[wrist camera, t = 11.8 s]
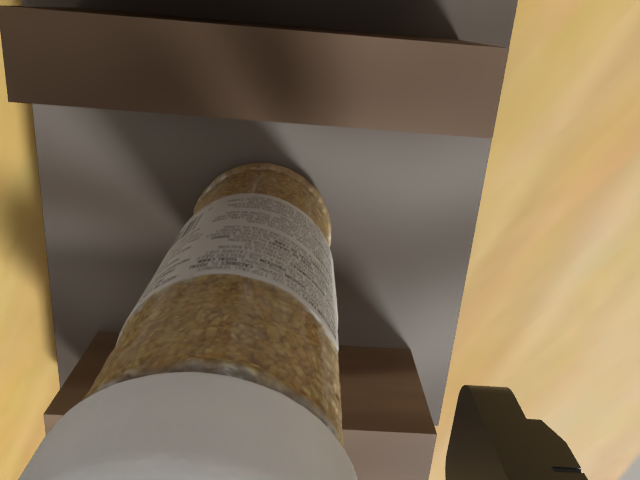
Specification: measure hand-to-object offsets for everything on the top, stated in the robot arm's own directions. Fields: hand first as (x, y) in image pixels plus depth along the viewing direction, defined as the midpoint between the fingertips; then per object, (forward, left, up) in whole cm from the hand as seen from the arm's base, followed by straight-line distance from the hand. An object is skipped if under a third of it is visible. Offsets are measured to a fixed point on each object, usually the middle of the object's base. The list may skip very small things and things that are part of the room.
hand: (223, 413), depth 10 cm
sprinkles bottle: (0, 0, -10) cm, 10 cm away
